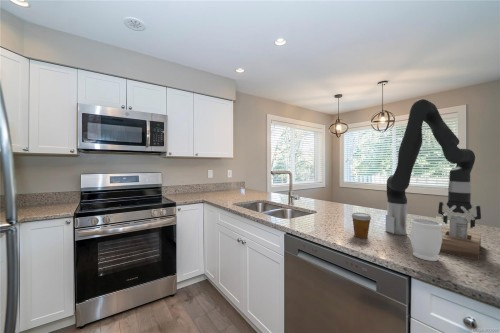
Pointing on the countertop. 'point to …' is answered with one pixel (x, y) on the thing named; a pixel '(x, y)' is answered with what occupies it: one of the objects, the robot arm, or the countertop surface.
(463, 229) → the energy drink can
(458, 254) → the cutout shelf
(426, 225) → the jar
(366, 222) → the disposable coffee cup
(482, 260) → the countertop surface
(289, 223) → the countertop surface
